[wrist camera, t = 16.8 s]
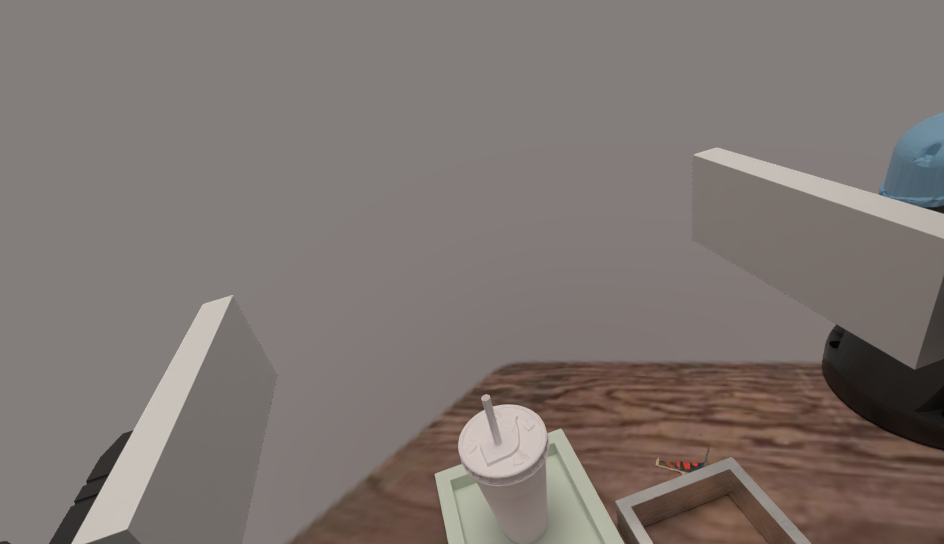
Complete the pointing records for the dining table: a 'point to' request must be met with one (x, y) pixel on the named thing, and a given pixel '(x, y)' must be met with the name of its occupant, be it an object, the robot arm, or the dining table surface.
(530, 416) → the smoothie
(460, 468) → the tray
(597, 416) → the dining table surface
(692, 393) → the dining table surface
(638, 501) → the square frame
